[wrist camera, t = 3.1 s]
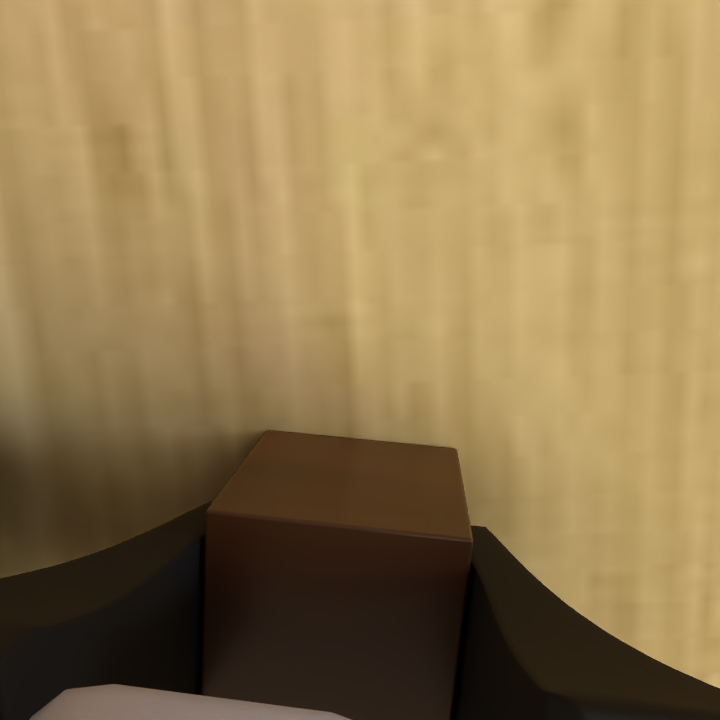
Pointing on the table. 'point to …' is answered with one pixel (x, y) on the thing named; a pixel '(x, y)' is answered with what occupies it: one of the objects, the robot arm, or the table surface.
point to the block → (338, 578)
